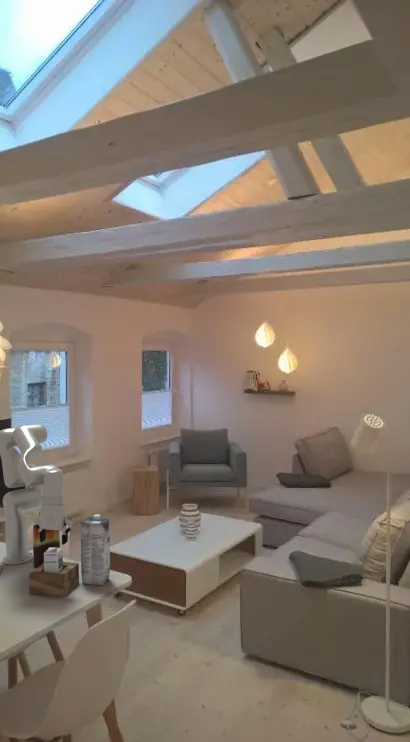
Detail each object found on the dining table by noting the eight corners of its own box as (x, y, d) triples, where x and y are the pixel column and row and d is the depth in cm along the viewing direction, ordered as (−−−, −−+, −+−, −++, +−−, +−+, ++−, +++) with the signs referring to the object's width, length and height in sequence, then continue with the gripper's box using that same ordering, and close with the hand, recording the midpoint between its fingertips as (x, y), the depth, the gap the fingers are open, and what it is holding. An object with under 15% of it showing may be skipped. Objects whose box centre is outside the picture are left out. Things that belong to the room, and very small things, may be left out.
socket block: (48, 579, 228) (48, 560, 227) (79, 582, 224) (78, 563, 224) (29, 593, 214) (29, 573, 214) (61, 597, 210) (61, 577, 210)
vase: (28, 575, 232) (27, 514, 231) (42, 565, 242) (41, 506, 241) (52, 577, 229) (51, 515, 228) (65, 567, 240) (64, 508, 239)
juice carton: (102, 587, 219) (101, 520, 218) (79, 584, 222) (78, 518, 221) (112, 578, 228) (111, 514, 227) (89, 575, 231) (88, 512, 230)
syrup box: (58, 588, 216) (58, 552, 215) (44, 588, 216) (43, 552, 216) (63, 582, 221) (63, 547, 221) (49, 582, 222) (48, 547, 221)
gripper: (28, 500, 216) (29, 543, 217) (68, 504, 212) (68, 547, 213) (39, 495, 224) (39, 537, 224) (77, 499, 219) (77, 541, 220)
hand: (53, 542), depth 218 cm, fingers open, 9 cm apart
